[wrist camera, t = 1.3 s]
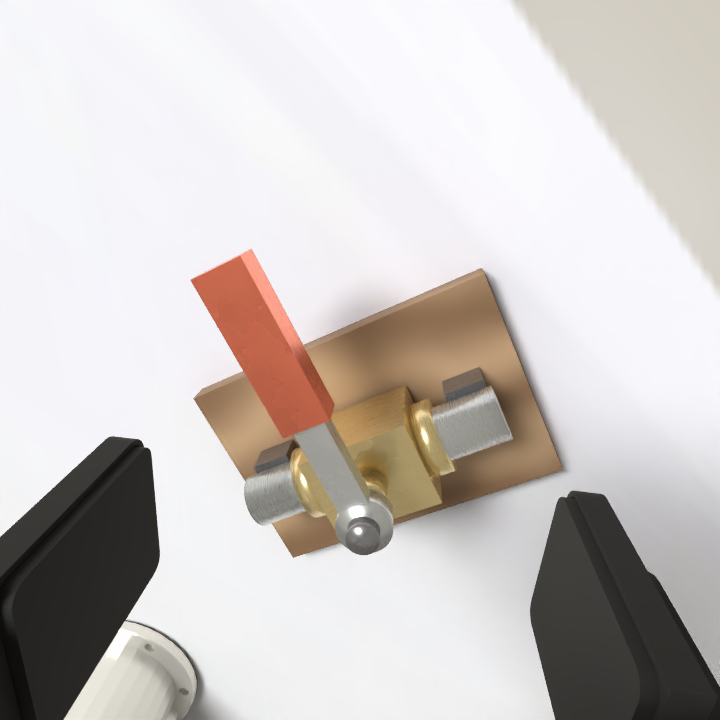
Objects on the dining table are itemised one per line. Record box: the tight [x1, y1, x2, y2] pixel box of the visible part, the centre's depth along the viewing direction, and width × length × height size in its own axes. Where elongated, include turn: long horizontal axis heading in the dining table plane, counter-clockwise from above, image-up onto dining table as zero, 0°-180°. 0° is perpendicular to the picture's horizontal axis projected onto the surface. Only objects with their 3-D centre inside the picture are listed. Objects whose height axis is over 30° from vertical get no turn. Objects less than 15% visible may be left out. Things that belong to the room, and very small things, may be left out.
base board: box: [194, 268, 563, 558], centre depth 35 cm, size 14×20×2 cm
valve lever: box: [191, 249, 394, 555], centre depth 24 cm, size 15×3×2 cm, turn 26°
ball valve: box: [244, 367, 513, 529], centre depth 30 cm, size 5×16×8 cm, turn 116°
